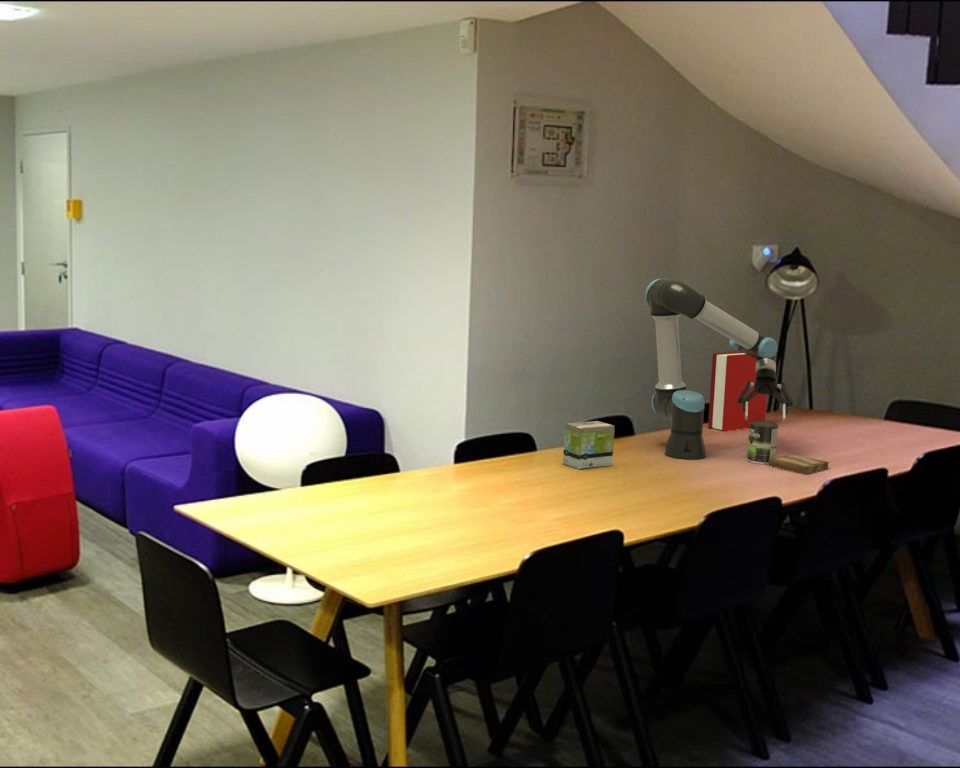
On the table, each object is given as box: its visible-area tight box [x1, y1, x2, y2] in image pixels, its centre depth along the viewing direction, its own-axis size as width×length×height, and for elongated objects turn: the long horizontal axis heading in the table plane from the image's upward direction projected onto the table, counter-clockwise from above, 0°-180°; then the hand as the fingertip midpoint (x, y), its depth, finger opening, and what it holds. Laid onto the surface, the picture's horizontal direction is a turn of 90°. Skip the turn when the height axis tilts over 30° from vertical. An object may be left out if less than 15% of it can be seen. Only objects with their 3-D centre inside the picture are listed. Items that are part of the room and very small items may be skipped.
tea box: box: [562, 420, 615, 470], centre depth 382 cm, size 15×10×15 cm, turn 123°
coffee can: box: [746, 420, 779, 463], centre depth 396 cm, size 10×10×14 cm
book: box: [707, 350, 767, 432], centre depth 458 cm, size 27×8×32 cm, turn 124°
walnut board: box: [767, 454, 829, 475], centre depth 388 cm, size 15×15×3 cm
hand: (765, 419), depth 403 cm, fingers open, 13 cm apart
